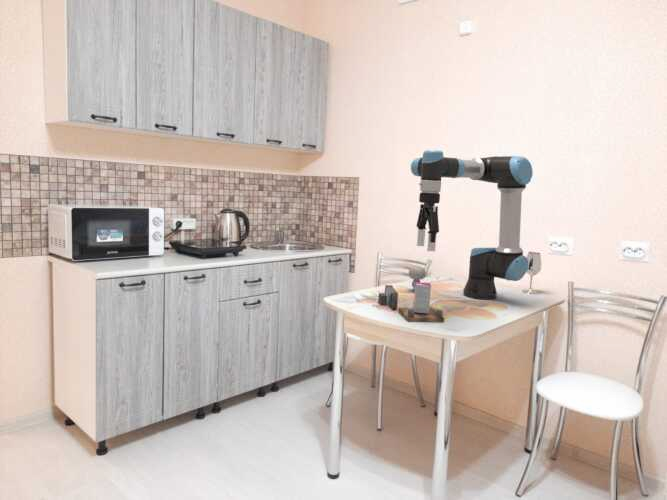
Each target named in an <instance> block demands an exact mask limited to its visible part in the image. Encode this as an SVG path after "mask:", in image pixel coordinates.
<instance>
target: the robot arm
mask: <svg viewBox="0 0 667 500" xmlns="http://www.w3.org/2000/svg"><path fill="white" fill-rule="evenodd" d="M410 171H411V173H412V175H413V176H414V177H418V178H419V177H420V182H419V183H418V186H419V187H420V188H419V191H420V193H419V196H418V197H419V198H418V201H419V202H418V203H422V204H420V207H419V213H418V218H417V221H416V227H417V241H416V247H425V239H426V230H427V227H426V226H427V225H428V232H427V234H428V239H427V250H426V251H427V252H436V244H437V234H438V233H439V232H440V229H439V228H440V227H439V215H438V214H439V207H438V206H437V205H436V206H435V204H439V203H440V201H441V199H440V198H441V192H442V191H441V189H442V187H441V186H442V178H450V179H457V178H458V179H459V178H467V179H470V180H472V181H481V182H484V183H491V184H496V185H497V186H496V187H497V190H499V192H500V209H499V231H498V233H499V235H498V246H497V247H474V248H471V250H470V256H469V267H468V268H469V269H468V278H467V281H466V283H465V285H464V288H463V293H462V295H463V296H465V297H468V298H472V299H478V300H495V299H497V298H498V297H497V296H498V292H497V289H496V287H497V286H496V284H495V283H496V282H495V278H497V279H501V280H506V281H513V282H517V281H520V280H522V278H523V277H524V276H525V275H526V273H527V272H526V271H527V269H528V260H527V258H526V257H527V256H525V255H524V250H523V249H522V247H521V245H520V244H521V243H520V242H521V220H522V219H521V218H522V195H523V194H522V193H523V192H524V190H525V189H526V187H527V185H528V184H529V183H531V181H532V178H533V173H534V172H533V166H532V164H531V162H530V160H529V159H528V158H527V157H524V156H517V155H510V156H505V155H504V156H488V157H487V156H486V157H478V158H477V157H474V158H471V159H461V158H458V157H449V156H448V157H445V156H444V152H443V151H442V150H437V149H436V150H434V149H428V150H424V151H423V153H422V157H417V158H414V159H413V160H412V161H411V164H410ZM427 223H428V224H427Z"/></svg>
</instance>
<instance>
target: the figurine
mask: <svg viewBox="0 0 667 500" xmlns="http://www.w3.org/2000/svg"><path fill="white" fill-rule="evenodd" d="M408 276H409V278H410V279H412V282H411V287H412V288H413V291H414V292H415V285H416V282H421V280H423V279H424V278H425V276H426V269H425V267H422V266H418V265H415V266H414V265H413V266H411V267H410V268H409V270H408Z"/></svg>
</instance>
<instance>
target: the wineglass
mask: <svg viewBox="0 0 667 500" xmlns="http://www.w3.org/2000/svg"><path fill="white" fill-rule="evenodd" d="M525 257H526V258H527V260H528V269H527V271H526V273H527V274H528V275H529V276H530V282H529V288H528V289H523V290H521V292H522V293H525V294H529V295H530V294H531V295H536V294H537V295H538V293H539V291H537V290H534V289H532V284H533V277H534V276H536V275H537V274H539V273H540V272H541V270H542V257H541V253H540V252H535V251H528V253H527V255H526V256H525Z"/></svg>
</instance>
